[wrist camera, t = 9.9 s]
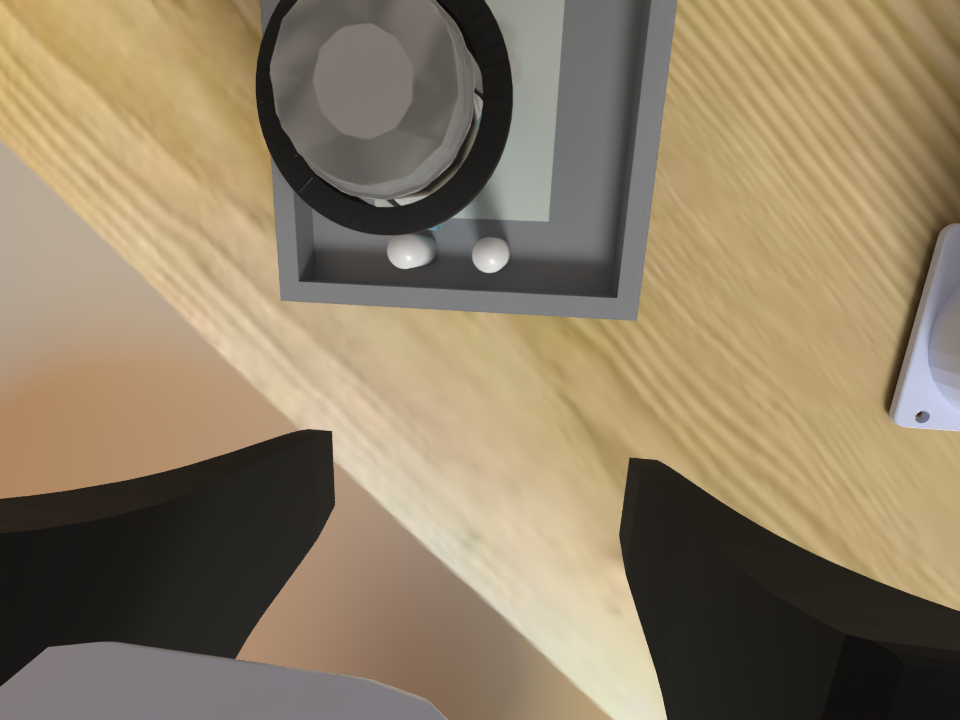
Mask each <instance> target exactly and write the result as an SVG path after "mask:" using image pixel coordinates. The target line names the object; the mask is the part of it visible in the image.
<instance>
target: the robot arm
mask: <svg viewBox="0 0 960 720" xmlns="http://www.w3.org/2000/svg"><path fill="white" fill-rule="evenodd" d="M920 411H922V415H921V416H920V417H919V418H918V419H915V416H916V415H917V413H919V412H920ZM889 417H890V419H891V421H892V422H894V423H895V424H897V425H899V426H902V427H910V428H923V429H937V430H950V431H960V223H954V224H950V225H948V226H946V227H945V228H944V229H943V230H942V231H941V232H940V234H939V236H938V239H937V243H936V246H935V250H934V253H933V257H932V261H931V264H930V268H929V271H928V275H927V279H926V282H925V286H924V289H923V293H922V296H921V300H920V304H919V307H918V311H917V314H916V318H915V322H914V325H913V329H912V332H911V336H910V340H909V343H908V347H907V350H906V354H905V358H904V361H903V365H902V368H901V372H900V376H899V379H898V383H897V386H896V390H895V393H894V397H893V401H892V404H891V408H890V411H889ZM334 506H335V493H334V469H333V445H332V431H324V430H312V429H307V430H301V431H296V432H292V433H289V434H286V435H282V436H279V437H276V438H273V439H270V440H267V441H264V442H261V443H258V444H255V445H252V446H249V447H246V448H243V449H240V450H237V451H234V452H231V453H228V454H224V455H221V456H218V457H214V458H211V459H208V460H204V461H201V462H198V463H195V464H191V465H188V466H184V467H181V468H177V469H173V470H169V471H165V472H162V473H157V474H153V475H149V476H145V477H140V478H135V479H131V480H126V481H121V482H115V483H109V484H104V485H98V486H92V487H86V488H81V489H75V490H70V491H63V492H55V493H47V494H40V495H32V496H23V497H14V498H4V499H0V720H448V719H447V718H446V717H444V715H443V714H442V713H440V712H439V711H438V710H437V709H436V708H435V707H434V706H433V705H432V704H431V703H430V702H429V701H428V700H427V699H425V698H422V697H419V696H417V695H414V694H411V693H408V692H405V691H403V690H400V689H397V688H394V687H392V686H389V685H386V684H383V683H381V682H378V681H375V680H372V679H369V678H362V677H355V676H348V675H341V674H333V673H327V672H320V671H314V670H306V669H299V668H292V667H286V666H279V665H271V664H265V663H258V662H251V661H244V660H237V659H235V658H236V657H237V655H238V653H239V651H240V650H241V648H242V646H243V645H244V643H245V641H246V639H247V638H248V636H249V635H250V633H251V632H252V630H253V629H254V627H255V626H256V624H257V623H258V621H259V619H260V618H261V617H262V615H263V614H264V613H265V611H266V610H267V608H268V607H269V606H270V604H271V603H272V602H273V600H274V599H275V597H276V596H277V595H278V593H279V592H280V591H281V589H282V588H283V586H284V585H285V584H286V582H287V581H288V579H289V578H290V577H291V575H292V574H293V573H294V571H295V570H296V568H297V567H298V566H299V564H300V563H301V561H302V560H303V559H304V557H305V555H306V554H307V553H308V552H309V550H310V549H311V547H312V546H313V545H314V543H315V542H316V540H317V539H318V537H319V535H320V533H321V531H322V529H323V528H324V526H325V524H326V522H327V520H328V518H329V516H330V514H331V512H332V510H333V508H334ZM619 537H620V543H621V550H622V556H623V562H624V567H625V573H626V577H627V580H628V583H629V587H630V590H631V593H632V596H633V600H634V603H635V606H636V609H637V613H638V616H639V619H640V622H641V625H642V628H643V632H644V635H645V638H646V641H647V644H648V647H649V651H650V654H651V657H652V660H653V663H654V666H655V670H656V673H657V677H658V681H659V684H660V688H661V692H662V696H663V701H664V706H665V710H666V715H667V720H960V611H957V610H954V609H951V608H948V607H946V606H943V605H940V604H937V603H934V602H931V601H928V600H926V599H923V598H920V597H917V596H914V595H911V594H909V593H906V592H903V591H901V590H898V589H896V588H893V587H890V586H888V585H885V584H883V583H880V582H877V581H875V580H873V579H870V578H868V577H866V576H863V575H861V574H858V573H856V572H854V571H851V570H849V569H847V568H844V567H842V566H840V565H837V564H835V563H833V562H830V561H828V560H826V559H824V558H822V557H820V556H817V555H815V554H813V553H811V552H809V551H807V550H805V549H803V548H801V547H799V546H797V545H795V544H793V543H791V542H789V541H787V540H785V539H783V538H781V537H780V536H778V535H776V534H774V533H772V532H770V531H768V530H767V529H765V528H763V527H761V526H760V525H758V524H756V523H755V522H753V521H751V520H750V519H748V518H746V517H745V516H743V515H741V514H740V513H738V512H736V511H735V510H733V509H731V508H730V507H728V506H727V505H725V504H724V503H722V502H720V501H719V500H717V499H716V498H714V497H713V496H711V495H710V494H708V493H707V492H705V491H704V490H702V489H701V488H700V487H698V486H697V485H695V484H694V483H692V482H691V481H689V480H688V479H686V478H685V477H684V476H682V475H681V474H679V473H678V472H676V471H675V470H673V469H672V468H670V467H669V466H667V465H665V464H664V463H662V462H660V461H658V460H651V459H639V458H629V466H628V473H627V481H626V488H625V496H624V503H623V510H622V518H621V525H620V533H619Z"/></svg>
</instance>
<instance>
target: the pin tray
mask: <svg viewBox="0 0 960 720" xmlns="http://www.w3.org/2000/svg"><path fill="white" fill-rule="evenodd" d="M260 1H261V16H262V31H263V36H264V32H265V30H266V27H267V25H268V22H269V20H270V17H271V15H272V14H273V12H274V10H275V8H276V6H277V4H278V3H279V1H280V0H260ZM485 2H486V3H487V5H488V6H489V8H490V10H491V11H492V13H493V15H494V17H495V19H496V21H497V23H498V25H499V28H500V30H501V33H502V35H503V38H504V41H505V45H506V48H507V50H508V51H509V52H510V53H511V54H513V55H514V56H515V57H516V58H517V59H519V60H520V61H521V68H520V70H521V71H522V76H521V78H520V79H519V81H518V82H517V84H516V85H515V87H514V88H513V110H512V120H511V126H510V131H509V135H508V139H507V142H506V146H505V149H504V151H503V154H502V156H501V159H500V161H499V163H498V165H497V167H496V169H495V171H494V173H493V175H492V177H493V178H492V180H491V182H490V183H489V185H488V186H487V188H486V189H485V191H484V192H483V193H482V195H481V196H480V198H479V199H478V200H477V201H474V200H473V201H472V202H471V203H470V204H469V205H468V206H466V207H465V208H464V209H463V210H461V211H460V212H459V213H458V214H456V215H455V216H453V217H452V218H450V219H449V220H447V221H445V222H444V223H443V224H442V226H441V227H440V228H439V229H438V230H437V231H434V230H424V231H421V232H417V233H412V234H406V235H374V234H366V233H362V232H358V231H354V230H351V229H348V228H346V227H343V226H341V225H339V224H336V223H334V222H332V221H330V220H329V219H327V218H325V217H324V216H322V215H321V214H319V213H318V212H317V211H315V210H314V209H313V208H311V207H310V206H309V205H308V204H307V203H306V202H304V201H303V200H302V199H301V198H300V197H299V196H298V195H297V193H296V192H295V191H294V190H293V189H292V188H291V187H290V185H289V184H288V183H287V181H286V180H285V178H284V177H283V176H282V174H281V173H280V171H279V169H278V167H277V166H276V164H275V162H274V160H273V158H272V156H271V163H272V177H273V192H274V207H275V222H276V236H277V251H278V266H279V280H280V295H281V301H295V302H313V303H331V304H348V305H366V306H384V307H401V308H419V309H437V310H454V311H472V312H490V313H507V314H525V315H543V316H561V317H578V318H596V319H614V320H631V321H637V315H638V307H639V299H640V291H641V283H642V275H643V267H644V259H645V252H646V244H647V236H648V228H649V220H650V212H651V204H652V196H653V188H654V180H655V172H656V164H657V156H658V148H659V141H660V133H661V125H662V117H663V109H664V101H665V93H666V85H667V77H668V69H669V61H670V53H671V45H672V38H673V30H674V22H675V14H676V6H677V0H485ZM467 51H468V49H467ZM468 53H469V56H470V59H471V62H472V65H473V69H474V77H475V84H476V83H477V81H478V80H479V78H480V77H481V71H480V69H479V67H478V65H477V63H476V61H475V59H474V58H473V56H472V54H471V53H470V52H469V51H468ZM359 198H361V199H362V200H364V201H366V202H367V203H369V204H372V205H374V206H377V207H394V206H393V205H392V204H390V203H389V202H388V201H387V200H375V199H369V198H363V197H359Z"/></svg>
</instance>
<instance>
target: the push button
mask: <svg viewBox="0 0 960 720" xmlns="http://www.w3.org/2000/svg"><path fill="white" fill-rule="evenodd" d="M467 49H468V51H469V52H470V53H471V54H472V56H473V58H474V59H475V61H476V63H477V65H478V67H479V69H480V71H481V77H480V78H479V80H478V81H477V83H476V84H475V77H474V69H473V65H472V62H471V59H470V56H469V53H468V51H467ZM520 68H521V61H520V60H519V59H517V58H516V57H515V56H514V55H513V54H511V53H510V52H509V51H508V50H507V48H506V45H505V41H504V38H503V35H502V33H501V30H500V28H499V25H498V23H497V21H496V19H495V17H494V15H493V13H492V11H491V10H490V8H489V6H488V5H487V3H486V2H485V0H280V1H279V3H278V4H277V6H276V8H275V10H274V12H273V14H272V15H271V17H270V20H269V22H268V25H267V27H266V30H265V32H264V36H263V39H262V42H261V46H260V51H259V56H258V61H257V71H256V100H257V109H258V115H259V121H260V125H261V128H262V132H263V136H264V139H265V141H266V144H267V147H268V149H269V152H270V154H271V156H272V158H273V160H274V162H275V164H276V166H277V167H278V169H279V171H280V173H281V174H282V176H283V177H284V178H285V180H286V181H287V183H288V184H289V185H290V187H291V188H292V189H293V190H294V191H295V192H296V193H297V195H298V196H299V197H300V198H301V199H302V200H303V201H304V202H306V203H307V204H308V205H309V206H310V207H311V208H313V209H314V210H315V211H317V212H318V213H319V214H321V215H322V216H324V217H325V218H327V219H329V220H330V221H332V222H334V223H336V224H339V225H341V226H343V227H346V228H348V229H351V230H354V231H358V232H362V233H366V234H374V235H406V234H412V233H417V232H421V231H424V230H434V231H437V230H438V229H439V228H440V227H441V226H442V224H443V223H444V222H445V221H447V220H449V219H450V218H452V217H453V216H455V215H456V214H458V213H459V212H460V211H461V210H463V209H464V208H465V207H466V206H468V205H469V204H470V203H471V202H472V201H473V200H474V201H477V200H478V199H479V198H480V196H481V195H482V193H483V192H484V191H485V189H486V188H487V186H488V185H489V183H490V182H491V180H492V178H493V177H492V175H493V173H494V171H495V169H496V167H497V165H498V163H499V161H500V159H501V156H502V154H503V151H504V149H505V146H506V142H507V139H508V135H509V131H510V126H511V120H512V110H513V88H514V87H515V85H516V84H517V82H518V81H519V79H520V78H521V76H522V71H521V70H520ZM359 197H363V198H369V199H375V200H387V201H388V202H389V203H390V204H392V205H393V206H394V207H377V206H374V205H372V204H369V203H367V202H366V201H364V200H362V199H361V198H359Z"/></svg>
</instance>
